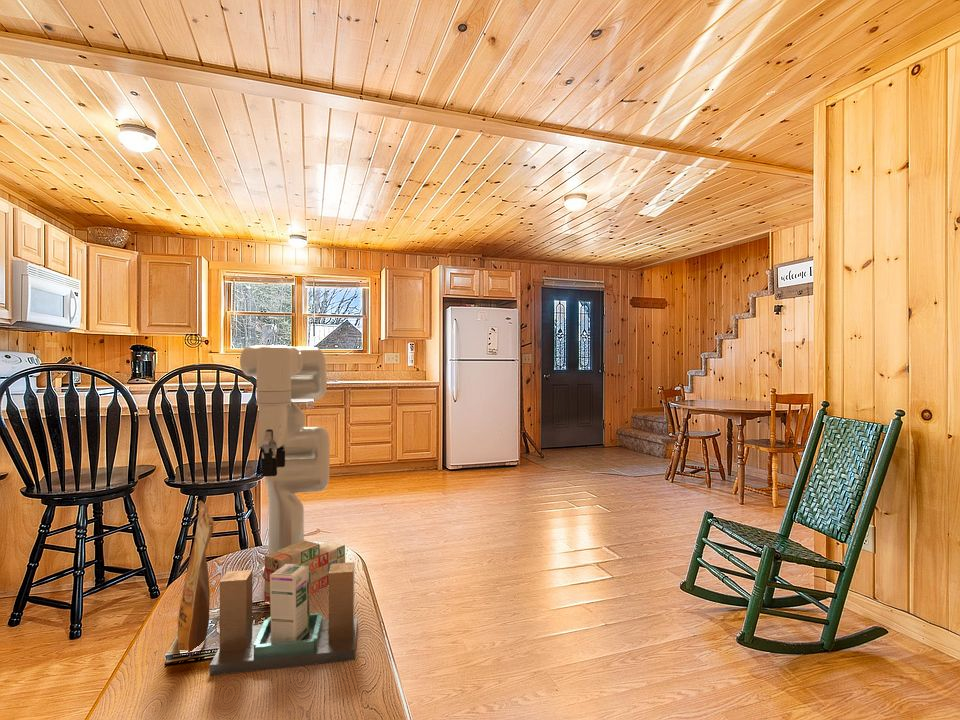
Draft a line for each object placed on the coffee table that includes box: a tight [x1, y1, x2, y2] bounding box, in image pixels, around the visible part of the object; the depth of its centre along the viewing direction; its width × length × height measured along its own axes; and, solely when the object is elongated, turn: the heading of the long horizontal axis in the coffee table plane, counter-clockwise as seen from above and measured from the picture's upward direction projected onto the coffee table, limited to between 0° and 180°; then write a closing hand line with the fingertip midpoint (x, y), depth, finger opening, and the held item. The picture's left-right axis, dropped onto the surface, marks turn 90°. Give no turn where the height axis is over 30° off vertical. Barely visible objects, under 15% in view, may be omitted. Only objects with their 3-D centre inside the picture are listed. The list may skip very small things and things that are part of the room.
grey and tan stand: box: [208, 562, 359, 676], centre depth 107 cm, size 14×27×16 cm, turn 101°
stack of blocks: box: [263, 539, 346, 603], centre depth 134 cm, size 21×6×12 cm, turn 149°
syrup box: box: [269, 564, 310, 643], centre depth 107 cm, size 6×6×14 cm
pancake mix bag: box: [177, 500, 215, 652], centre depth 110 cm, size 7×19×28 cm, turn 27°
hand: (273, 471), depth 119 cm, fingers open, 9 cm apart
